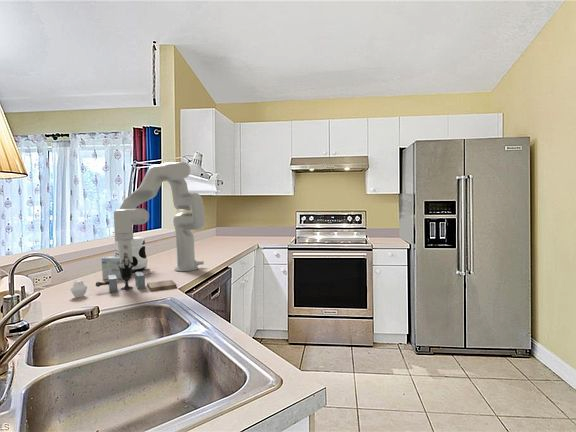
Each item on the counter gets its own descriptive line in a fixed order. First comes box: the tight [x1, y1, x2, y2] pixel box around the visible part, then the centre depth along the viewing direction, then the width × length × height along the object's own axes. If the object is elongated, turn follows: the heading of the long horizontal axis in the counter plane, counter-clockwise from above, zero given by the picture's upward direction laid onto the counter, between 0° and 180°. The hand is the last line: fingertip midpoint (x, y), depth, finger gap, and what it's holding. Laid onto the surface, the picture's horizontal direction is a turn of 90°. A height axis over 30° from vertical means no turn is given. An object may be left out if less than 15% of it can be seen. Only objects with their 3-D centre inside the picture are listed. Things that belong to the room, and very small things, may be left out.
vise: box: [95, 271, 146, 294], centre depth 170 cm, size 20×10×6 cm, turn 117°
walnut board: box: [146, 279, 178, 292], centre depth 172 cm, size 11×11×2 cm
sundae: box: [118, 261, 134, 291], centre depth 171 cm, size 7×7×15 cm
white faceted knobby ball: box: [69, 279, 88, 299], centre depth 159 cm, size 6×6×7 cm
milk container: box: [114, 236, 149, 272], centre depth 214 cm, size 17×17×18 cm
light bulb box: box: [101, 255, 123, 280], centre depth 196 cm, size 11×7×11 cm, turn 84°
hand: (125, 275), depth 171 cm, fingers open, 9 cm apart
